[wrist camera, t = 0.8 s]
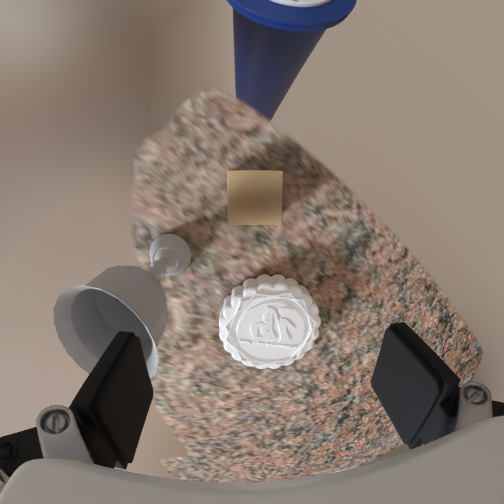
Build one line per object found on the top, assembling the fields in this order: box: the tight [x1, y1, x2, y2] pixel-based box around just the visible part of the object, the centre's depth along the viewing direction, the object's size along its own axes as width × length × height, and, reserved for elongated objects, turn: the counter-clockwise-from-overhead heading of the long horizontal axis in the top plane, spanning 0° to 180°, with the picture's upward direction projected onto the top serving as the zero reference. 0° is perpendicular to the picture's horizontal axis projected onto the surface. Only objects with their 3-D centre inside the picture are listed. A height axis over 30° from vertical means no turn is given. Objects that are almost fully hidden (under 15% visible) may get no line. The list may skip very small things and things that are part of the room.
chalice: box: [54, 234, 191, 379], centre depth 22 cm, size 7×7×18 cm
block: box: [228, 170, 283, 225], centre depth 27 cm, size 5×5×5 cm
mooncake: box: [219, 274, 321, 369], centre depth 31 cm, size 12×12×4 cm
